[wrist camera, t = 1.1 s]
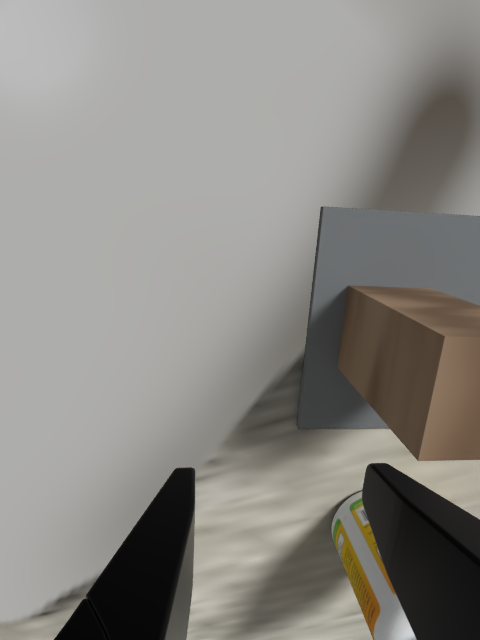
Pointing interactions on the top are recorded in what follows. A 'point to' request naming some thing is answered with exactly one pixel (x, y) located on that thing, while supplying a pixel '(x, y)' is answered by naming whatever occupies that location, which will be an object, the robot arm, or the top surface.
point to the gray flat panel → (381, 271)
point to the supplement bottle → (368, 572)
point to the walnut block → (416, 366)
